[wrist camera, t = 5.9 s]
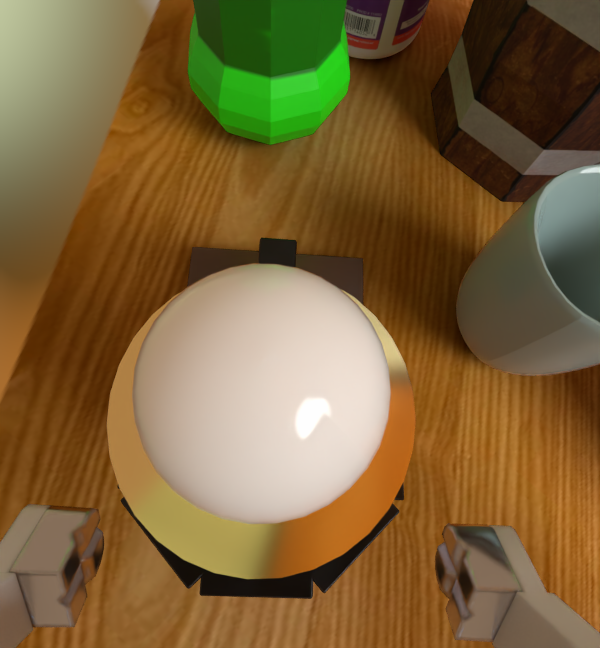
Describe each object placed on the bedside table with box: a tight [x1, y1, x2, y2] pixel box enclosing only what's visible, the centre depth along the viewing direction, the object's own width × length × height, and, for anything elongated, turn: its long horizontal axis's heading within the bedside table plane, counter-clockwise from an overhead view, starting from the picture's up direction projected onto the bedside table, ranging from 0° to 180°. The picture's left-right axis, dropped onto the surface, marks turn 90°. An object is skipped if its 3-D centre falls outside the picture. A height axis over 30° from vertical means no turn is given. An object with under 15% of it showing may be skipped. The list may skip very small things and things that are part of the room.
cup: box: [456, 164, 600, 376], centre depth 22 cm, size 8×8×10 cm
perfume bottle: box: [107, 263, 416, 579], centre depth 14 cm, size 6×6×20 cm
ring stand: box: [118, 238, 404, 599], centre depth 21 cm, size 16×11×7 cm, turn 178°
